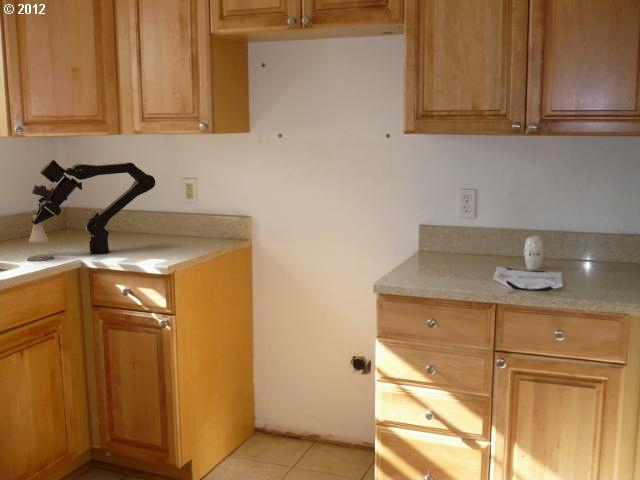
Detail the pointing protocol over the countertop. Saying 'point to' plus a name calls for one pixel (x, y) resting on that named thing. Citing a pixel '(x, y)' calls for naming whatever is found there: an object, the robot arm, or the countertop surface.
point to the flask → (38, 233)
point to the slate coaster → (40, 257)
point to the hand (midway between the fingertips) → (33, 223)
